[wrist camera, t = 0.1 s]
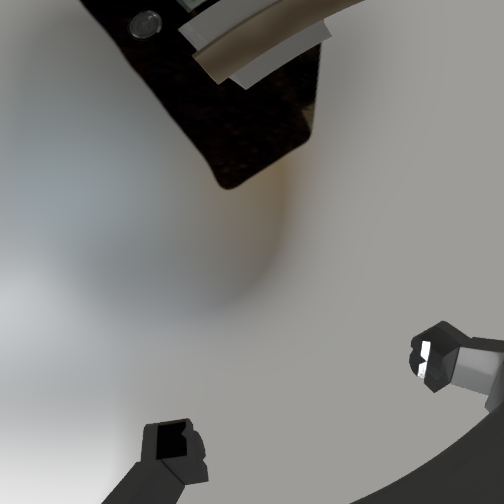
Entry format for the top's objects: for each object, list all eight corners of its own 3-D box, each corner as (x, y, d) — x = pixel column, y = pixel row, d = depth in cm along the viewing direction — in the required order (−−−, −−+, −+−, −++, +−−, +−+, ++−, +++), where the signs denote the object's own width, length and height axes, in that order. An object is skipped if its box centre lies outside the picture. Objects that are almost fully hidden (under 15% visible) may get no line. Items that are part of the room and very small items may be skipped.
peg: (191, 55, 23) (195, 58, 21) (354, -32, 18) (372, -34, 15) (212, 79, 25) (218, 84, 23) (368, -9, 20) (386, -9, 18)
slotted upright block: (177, 29, 38) (187, 22, 20) (231, -7, 35) (285, -33, 17) (210, 65, 45) (246, 89, 27) (261, 31, 42) (331, 36, 24)
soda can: (165, 16, 36) (165, 10, 27) (160, 40, 39) (158, 41, 30) (138, 15, 34) (130, 9, 25) (133, 39, 37) (124, 40, 29)
